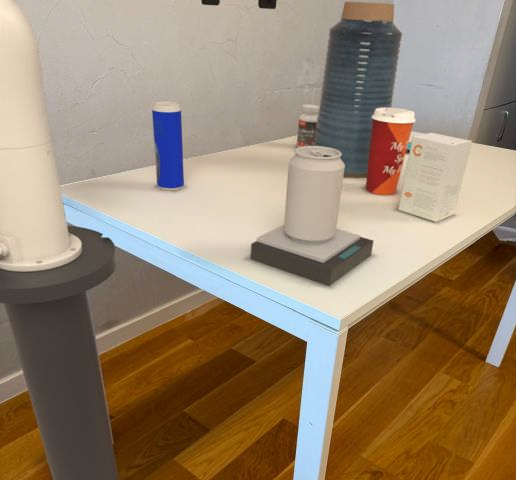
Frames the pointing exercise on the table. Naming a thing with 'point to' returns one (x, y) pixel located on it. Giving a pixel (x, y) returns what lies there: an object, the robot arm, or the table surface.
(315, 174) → the can
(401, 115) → the coffee cup
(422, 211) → the small box
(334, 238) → the scale
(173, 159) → the beverage can
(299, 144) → the pill bottle
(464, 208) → the table surface
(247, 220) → the table surface
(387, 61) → the vase
